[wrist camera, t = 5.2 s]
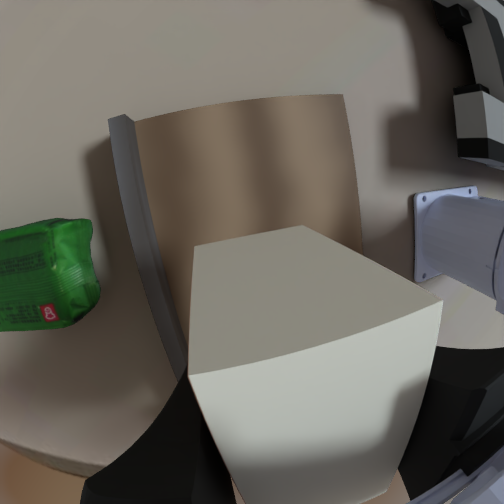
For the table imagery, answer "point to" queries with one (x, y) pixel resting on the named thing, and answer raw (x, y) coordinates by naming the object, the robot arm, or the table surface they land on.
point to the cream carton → (307, 364)
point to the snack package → (46, 275)
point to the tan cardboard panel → (229, 188)
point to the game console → (478, 77)
